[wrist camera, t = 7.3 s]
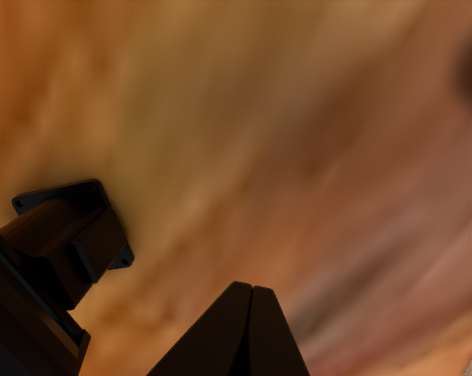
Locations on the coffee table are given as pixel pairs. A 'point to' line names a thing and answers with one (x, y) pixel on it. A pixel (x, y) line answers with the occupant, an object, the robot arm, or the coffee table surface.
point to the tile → (468, 370)
